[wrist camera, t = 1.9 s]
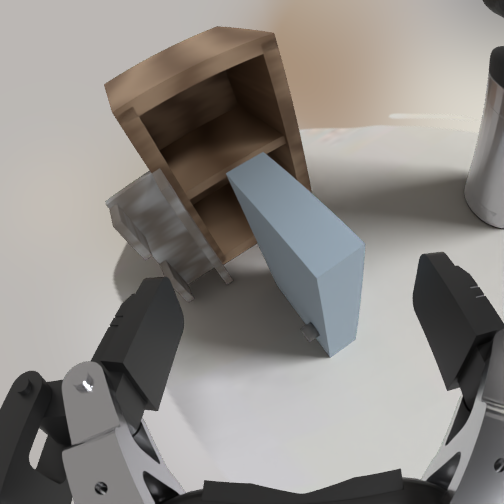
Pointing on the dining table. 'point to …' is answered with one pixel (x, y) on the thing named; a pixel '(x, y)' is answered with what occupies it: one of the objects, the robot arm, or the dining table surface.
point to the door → (304, 250)
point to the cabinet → (201, 147)
